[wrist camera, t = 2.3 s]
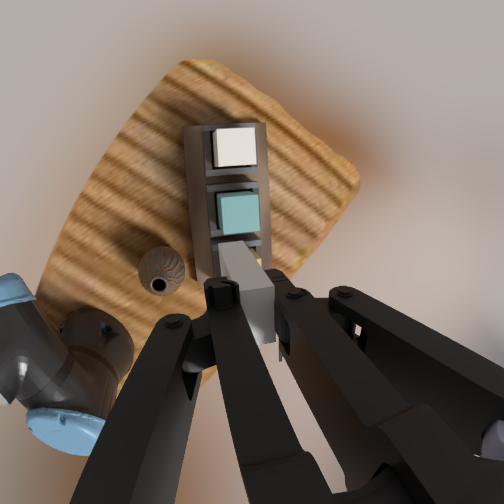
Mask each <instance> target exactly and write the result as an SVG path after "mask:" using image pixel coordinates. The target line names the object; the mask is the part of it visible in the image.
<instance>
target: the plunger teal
mask: <svg viewBox="0 0 504 504" xmlns="http://www.w3.org/2000/svg"><path fill="white" fill-rule="evenodd" d="M216 196H217V209H218V222H219V227H220V229H221V231H222V232H223V234H224V235H226V234H235V233H244V232H253V231H260V222H259V202H258V194H255V193H253V192H251V191H240V192H229V193H218V194H216Z"/></svg>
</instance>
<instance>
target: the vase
mask: <svg viewBox="0 0 504 504" xmlns="http://www.w3.org/2000/svg"><path fill="white" fill-rule="evenodd" d="M138 275H139V279H140V282H141V284H142V286H143V287H144V288H145V289H146V290H147V291H148V292H149V293H151V294H153V295H156V296H167V295H170V294H172V293H174V292H175V291H176V290H177V289H178V288H179V287H180V286H181V284H182V283H183V280H184V277H185V265H184V262H183V259H182V257H181V256H180V255H179V253H178V252H177V251H175V250H174V249H172V248H170V247H167V246H157V247H154V248H152V249H150V250H148V251H147V252H146V253H145V254H144V255H143V257H142V258H141V260H140V263H139V267H138Z"/></svg>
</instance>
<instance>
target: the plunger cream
mask: <svg viewBox="0 0 504 504" xmlns="http://www.w3.org/2000/svg"><path fill="white" fill-rule="evenodd" d="M212 135H213V152H214V167H222V166H236V165H253V164H257V162H256V143H255V128H228V129H216V130H215V132H214V133H213V134H212Z"/></svg>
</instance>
